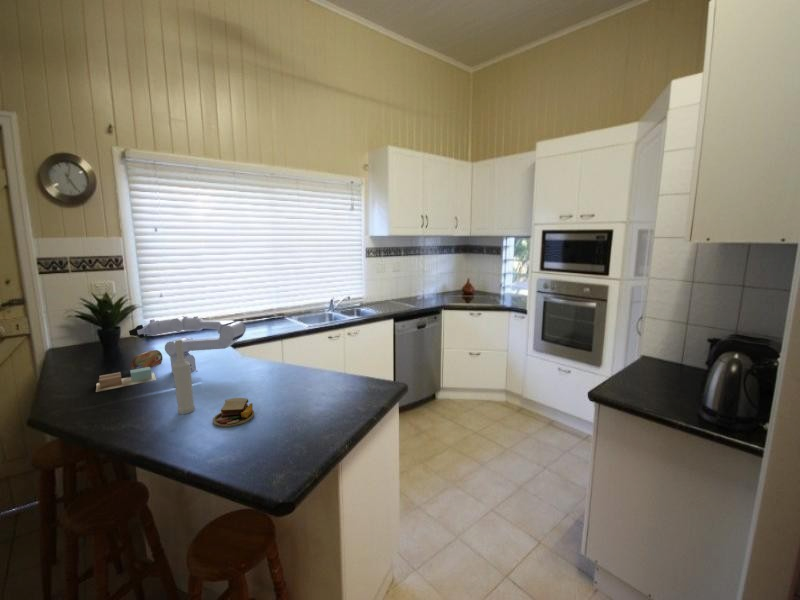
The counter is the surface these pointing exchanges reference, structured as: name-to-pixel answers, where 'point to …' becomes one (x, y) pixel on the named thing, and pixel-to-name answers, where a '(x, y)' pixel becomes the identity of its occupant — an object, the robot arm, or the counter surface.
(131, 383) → the birch board
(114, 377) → the walnut block
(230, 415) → the toy sandwich meal
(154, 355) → the tin
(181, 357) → the bottle
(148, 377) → the teal brick
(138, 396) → the counter surface
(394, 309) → the counter surface
